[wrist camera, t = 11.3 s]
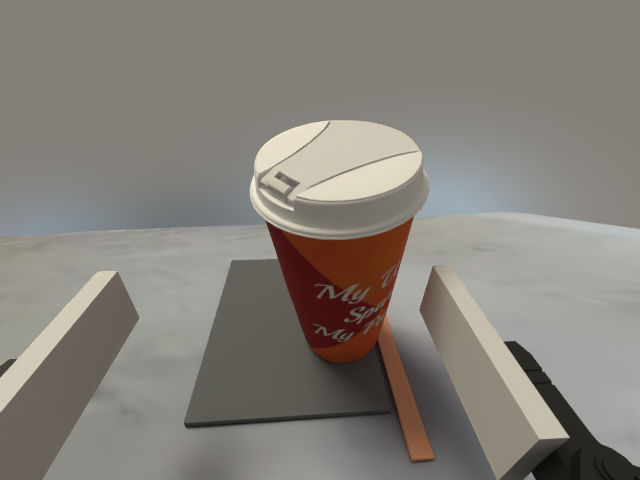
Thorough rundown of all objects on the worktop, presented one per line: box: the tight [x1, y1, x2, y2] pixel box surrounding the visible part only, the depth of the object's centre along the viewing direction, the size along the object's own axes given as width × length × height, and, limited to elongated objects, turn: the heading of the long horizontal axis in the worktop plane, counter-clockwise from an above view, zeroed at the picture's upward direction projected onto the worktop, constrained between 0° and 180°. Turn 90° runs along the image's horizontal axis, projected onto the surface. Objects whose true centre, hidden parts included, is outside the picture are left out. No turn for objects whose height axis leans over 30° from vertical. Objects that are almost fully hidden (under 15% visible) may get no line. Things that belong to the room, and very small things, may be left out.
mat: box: [184, 259, 392, 427], centre depth 23 cm, size 12×15×1 cm
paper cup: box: [250, 120, 429, 363], centre depth 17 cm, size 8×8×14 cm
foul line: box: [377, 315, 435, 462], centre depth 23 cm, size 1×18×1 cm, turn 4°
